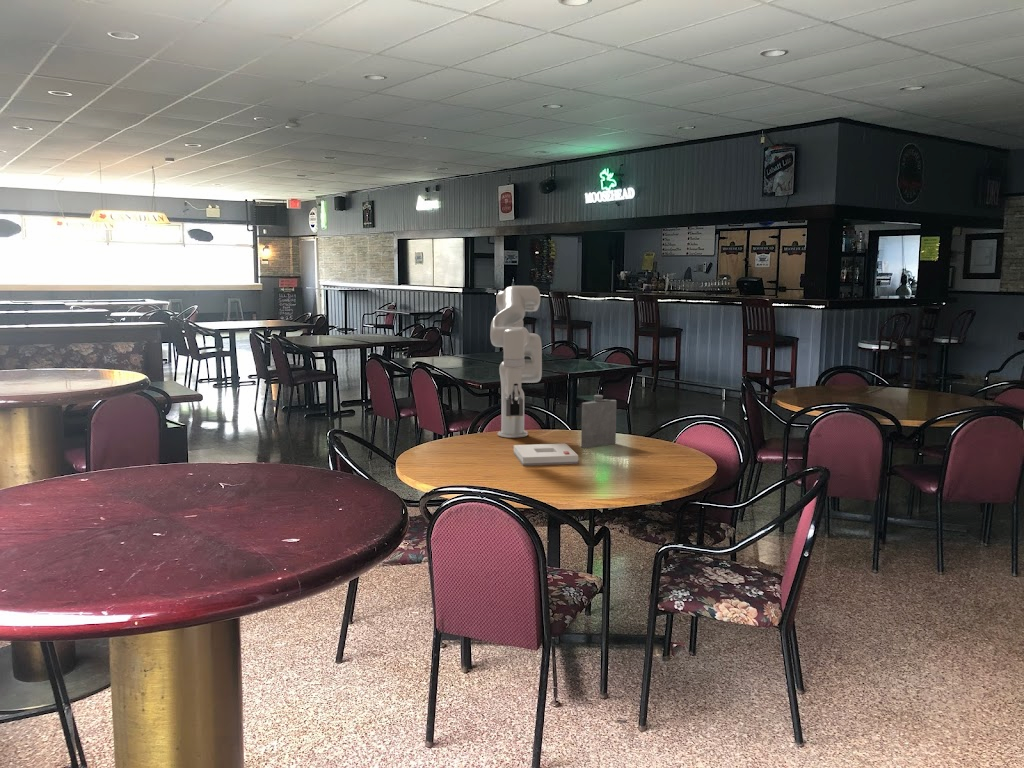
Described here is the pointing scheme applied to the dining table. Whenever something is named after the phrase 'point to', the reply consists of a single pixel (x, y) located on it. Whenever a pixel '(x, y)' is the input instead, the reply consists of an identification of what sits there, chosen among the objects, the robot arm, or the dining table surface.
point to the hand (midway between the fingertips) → (513, 412)
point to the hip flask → (598, 422)
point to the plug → (507, 407)
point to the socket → (545, 454)
